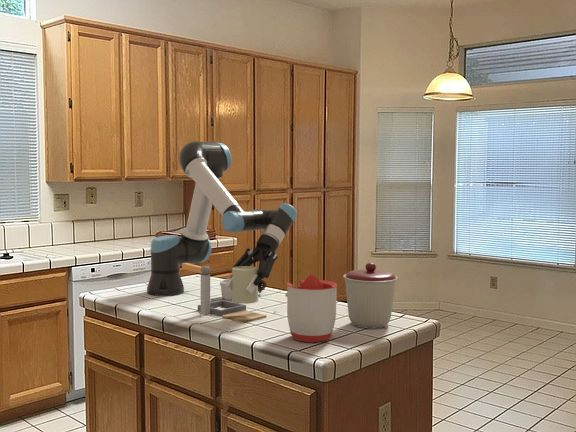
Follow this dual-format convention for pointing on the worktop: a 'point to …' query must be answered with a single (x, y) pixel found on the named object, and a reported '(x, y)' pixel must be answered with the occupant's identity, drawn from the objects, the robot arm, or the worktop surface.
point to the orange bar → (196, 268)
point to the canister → (370, 296)
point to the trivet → (244, 316)
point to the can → (243, 284)
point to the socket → (209, 307)
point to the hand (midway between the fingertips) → (238, 290)
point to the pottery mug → (261, 286)
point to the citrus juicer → (311, 309)
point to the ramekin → (225, 290)
